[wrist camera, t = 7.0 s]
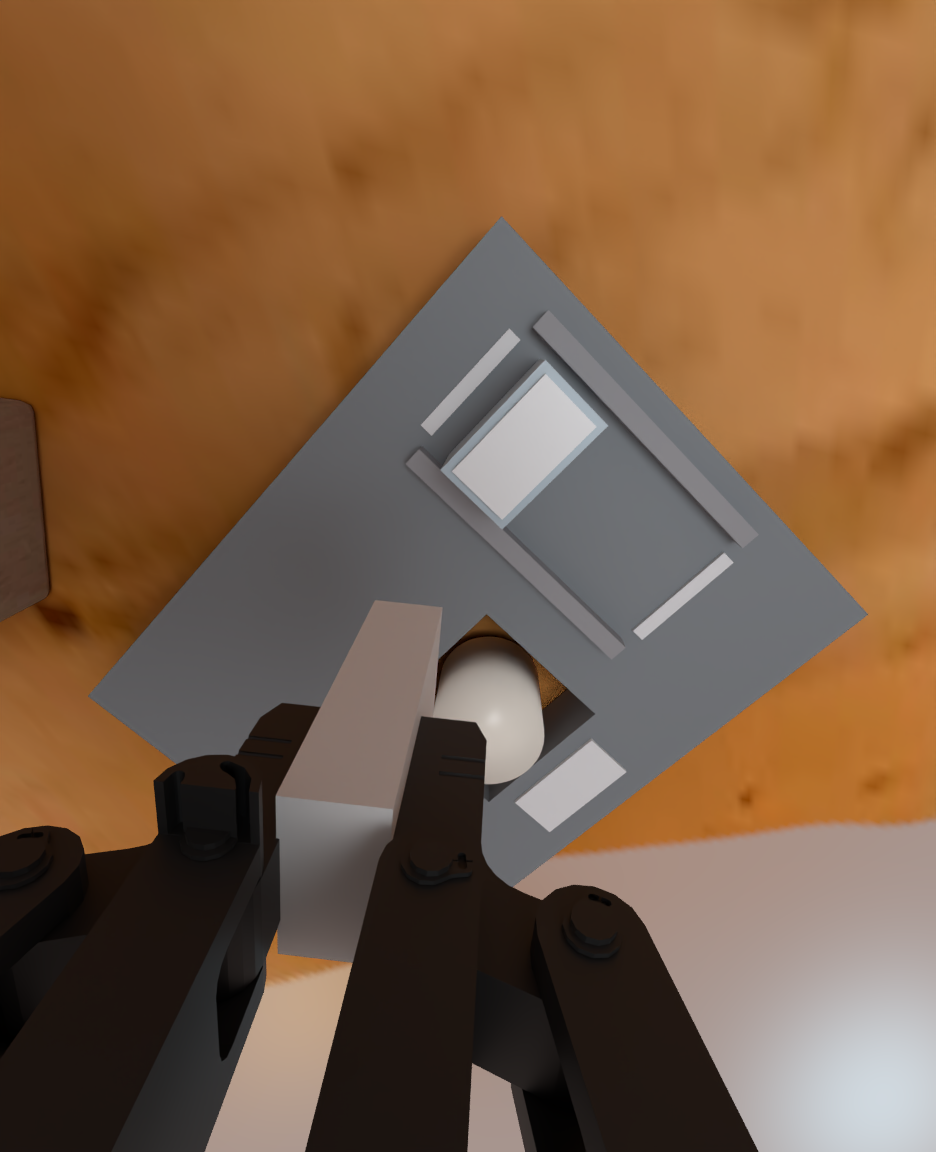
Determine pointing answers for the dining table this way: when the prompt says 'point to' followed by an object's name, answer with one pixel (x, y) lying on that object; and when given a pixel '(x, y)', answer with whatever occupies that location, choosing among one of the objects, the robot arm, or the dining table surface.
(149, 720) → the console
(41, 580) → the wooden block
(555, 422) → the slider knob
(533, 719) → the button ivory
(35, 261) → the dining table surface
